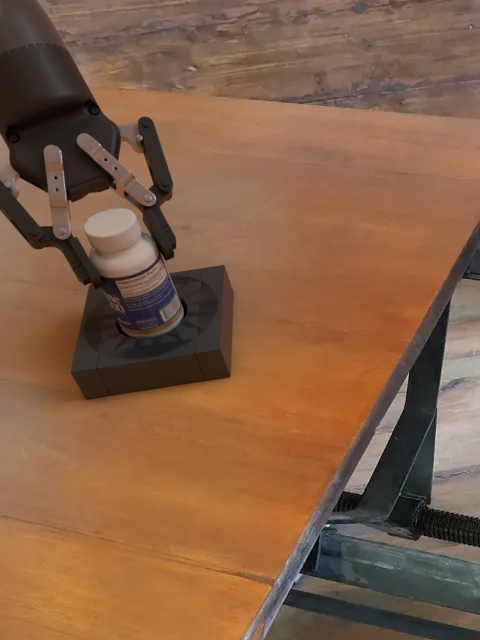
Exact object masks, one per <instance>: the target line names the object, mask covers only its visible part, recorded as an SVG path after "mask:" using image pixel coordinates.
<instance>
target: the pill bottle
mask: <svg viewBox="0 0 480 640" xmlns="http://www.w3.org/2000/svg"><path fill="white" fill-rule="evenodd" d="M83 231H84V233H85V235H86V238H87V241H88V243H89V244H90V246H91V248H90V250H89V253H88V257H89V259H90V261H91V262H92V264H93V266H94V268H95V269H96V271H97V273H98V275H99V276H100V278H101V280H102V284H103V287H101V288H102V290H103V292H104V294H105V296H106V299H107V301H108V303H109V305H110V307H111V309H112V310H113V313H114V315H115V317H116V318H117V321H118V322H119V324H120V326H121V328H122V330H123V331H124V333H126V334H127V335H128V336H130V337H132V338H138V339H143V338H149V337H156V336H158V335H161V334H164V333H166V332H169V331H171V330H172V329H173V328H175V327H176V326H178V325H179V324H180V323H181V322H182V319H183V316H184V311H183V307H182V305H181V302H180V300H179V297H178V295H177V292H176V290H175V287H174V285H173V282H172V280H171V278H170V275H169V273H170V272H169V271H168V268H167V266H166V263H165V260H164V258H163V256H162V254H161V253H160V251H159V248H158V246H157V244H156V242H155V240H154V239H153V238H152V236H151V235H150V234H148V233H147V232H144V231H142V225H141V224H140V222H139V220H138V218H137V215H136V214H135V213H134V211H132V210H131V209H128V208H125V207H124V208H123V207H114V208H107V209H103V210H101V211H98V212H97V213H95V214H93V215H91V216H89V218H87V220H86V221H85V222H84V225H83Z"/></svg>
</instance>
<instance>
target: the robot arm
mask: <svg viewBox="0 0 480 640" xmlns="http://www.w3.org/2000/svg"><path fill="white" fill-rule="evenodd" d="M0 137H1V138H2V140H3V142H4V143H5V145H6V147H7V149H8V152H9V153H8V154H9V155H8V160H9V163H7V164H6V165H4V166H2V167H1V168H0V212H1V213H2V215H4V217H5V218H6V219H7V220H8V222H9V223H10V224H11V225H12V226H13V227H14V228H15V229H16V231H17V232H18V233H19V234H20V236H22V238H23V239H24V240H25V241H26V242H27V244H28V245H29V246H30V247H31V248H32V249H34V250H39V251H40V250H43V249H44V248H55V249H57V250H60V252H61V253H62V254H63V256H64V258H65V260H66V261H67V263H68V265H69V266H70V269H71V270H72V272H73V273H74V275H75V277H76V279H77V280H78V282H79V283H80V284H82V285H83V286H87V285H92V287H93V289H94V290H96V289H98V288H100V287H103V284H102V280H101V278H100V276H99V275H98V273H97V271H96V269H95V268H94V266H93V264H92V262H91V261H90V259H89V254H87V252H86V250H85V248H84V247H83V245H82V243H81V241H80V240H79V237H78V236H74V234H73V230H72V228H73V227H72V221H71V218H72V217H71V209H70V202H71V203H76V202H77V201H80V200H82V199H84V198H86V197H87V196H88V195H89V194H94V193H95V194H96V193H102V192H104V191H107V190H112V191H113V192H114V193H115V194H116V195H117V196H118V197H120V198H121V199H123V200H125V201H126V202H128V203H129V204H131V205H132V206H133V207H134V208H135V209H136V210H138V211H139V213H141V214H142V222H143V224H144V226H145V228H146V230H147V231H148V233H149V235H150V236H151V237H152V238H153V239H154V240H155V242H156V244H157V246H158V248H159V251H160V253H161V255H162V258H163V260H164V262H167V261H170V260H172V259H174V258H175V250H176V249H177V237H176V234H175V233H174V231H173V229H172V227H171V226H170V224H169V222H168V220H167V219H166V216H165V215H164V212H163V211H162V209H161V206H163V204H165V202H169V201H171V199H172V198H173V190H174V189H173V188H174V181H173V178H172V175H171V171H170V169H169V166H168V163H167V160H166V156H165V154H164V149H163V147H162V143H161V140H160V139H159V134H158V132H157V128H156V125H155V122H154V121H153V119H152V118H151V117H149V116H141V117H139V118H138V120H137V122H135V123H134V122H133V123H127V124H126V123H125V124H119V125H117V124H116V123H115V121H113V120H111V119H110V118H109V117H107V116H106V115H105V113H104V112H103V111H102V109H101V107H100V105H99V104H98V102H97V99H96V98H95V97H94V94H93V93H92V91H91V89H90V87H89V86H88V84H87V82H86V80H85V79H84V76H83V75H82V73H81V70H80V69H79V67H78V65H77V64H76V62H75V60H74V58H73V56H72V55H71V53H70V51H69V49H68V47H67V46H66V44H65V41H64V40H63V38H62V37H61V34H60V32H59V31H58V29H57V27H56V26H55V24H54V22H53V20H52V19H51V18H50V16H49V15H48V13H47V12H46V11H45V8H43V6H42V5H41V3H40V2H39V1H38V0H0ZM122 142H124V143H127V144H128V145H129V146H130V147H131V149H132V150H133V152H134V153H137V154H143V157H144V160H145V162H146V165H147V169H148V173H149V175H150V179H151V181H152V185H151V186H150V187H149V188H147V186H145V185H144V184H143V183H142V182H141V181H139V180H138V179H137V178H136V176H135V175H134V174H133V172H132V171H130V170H129V169H128V168H127V167H126V166H125V165H124V164H123V163H121V162H120V161H119V159H120V152H121V145H122ZM19 179H21V180H23V181H24V182H26V183H28V184H30V185H32V186H34V187H35V188H38V189H39V190H41V191H43V192H45V193H47V194H48V200H49V201H48V202H49V209H50V214H51V223H52V225H39V224H38V222H36V220H35V219H34V218H33V217H32V216H31V215H30V213H29V212H28V211H27V210H26V208H25V207H24V206H23V205H22V204H21V203H20V201H19V200H18V198H19V197H20V190H19V187H18V185H17V181H18V180H19ZM69 201H70V202H69Z"/></svg>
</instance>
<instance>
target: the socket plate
mask: <svg viewBox="0 0 480 640" xmlns="http://www.w3.org/2000/svg"><path fill="white" fill-rule="evenodd" d="M168 273H169V275H170V278H171V280H172V282H173V285H174V287H175V290H176V292H177V295H178V297H179V300H180V302H181V305H182V307H183V311H184V316H183V319H182V321H181V322H180V324H179V325H178V326H176V327H175V328H173V329H172V330H171V331H169V332H166V333H164V334H161V335H158V336H156V337H149V338H143V339H138V338H132V337H130V336H128V335H127V334H126V333H124V331H123V330H122V328H121V326H120V324H119V322H118V321H117V318H116V317H115V315H114V313H113V310H112V309H111V307H110V305H109V303H108V301H107V299H106V296H105V294H104V292H103V290H102V288H101V287H100V288H98V289H96V290H94V289H93V287H92V285H91V284H88V289H87V294H86V298H85V302H84V303H85V304H84V307H83V312H82V317H81V322H80V327H79V331H78V335H77V340H76V344H75V349H74V353H73V358H72V362H71V367H70V374H71V376H72V378H73V380H74V382H75V383H76V385H77V386H78V388H79V391H80V392H81V394H82V396H83V397H84V399H85V400H90V399H96V398H102V397H109V396H113V395H121V394H127V393H134V392H139V391H146V390H151V389H152V390H153V389H159V388H166V387H172V386H178V385H185V384H191V383H196V382H204V381H210V380H216V379H217V380H219V379H224V378H229V377H231V371H232V348H233V347H232V346H233V344H232V343H233V320H234V296H235V292H234V288H233V286H232V283H231V279H230V277H229V274H228V271H227V268H226V266H225V264H221V265H213V266H207V267H201V268H193V269H187V270H182V271H181V270H180V271H173V272H168Z"/></svg>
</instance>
